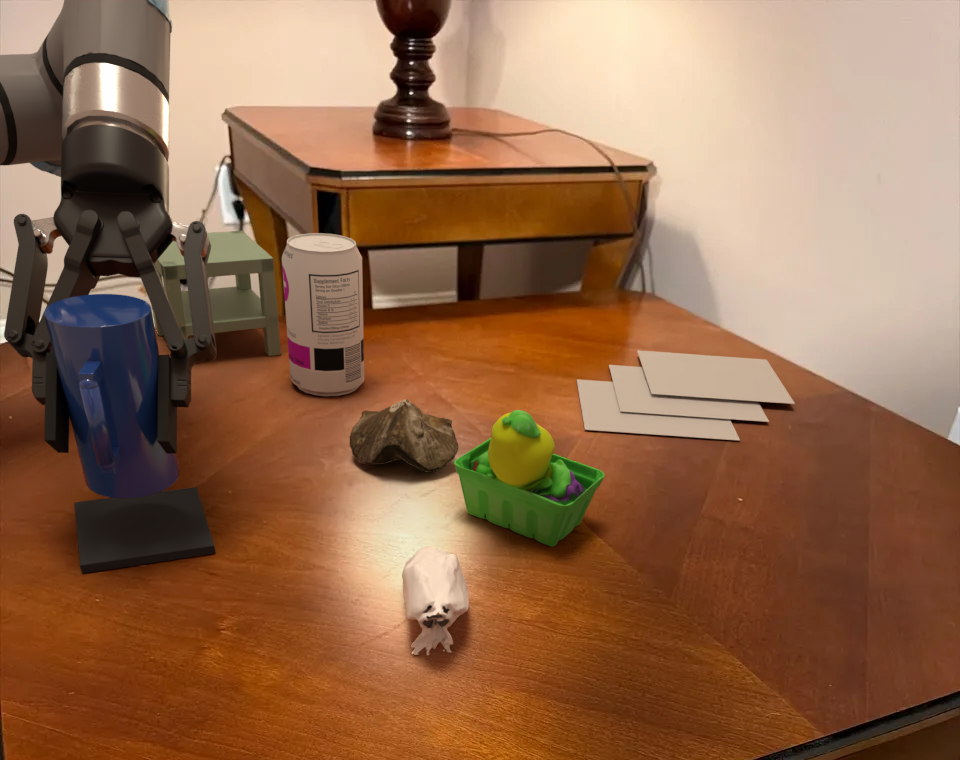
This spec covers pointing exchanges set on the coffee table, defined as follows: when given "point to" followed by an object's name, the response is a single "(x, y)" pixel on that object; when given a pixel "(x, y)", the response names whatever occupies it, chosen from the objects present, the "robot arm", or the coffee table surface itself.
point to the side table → (227, 288)
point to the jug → (112, 392)
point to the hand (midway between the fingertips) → (112, 446)
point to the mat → (141, 530)
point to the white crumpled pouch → (434, 595)
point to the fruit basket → (526, 481)
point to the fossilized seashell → (404, 437)
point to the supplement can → (324, 313)
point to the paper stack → (681, 395)
